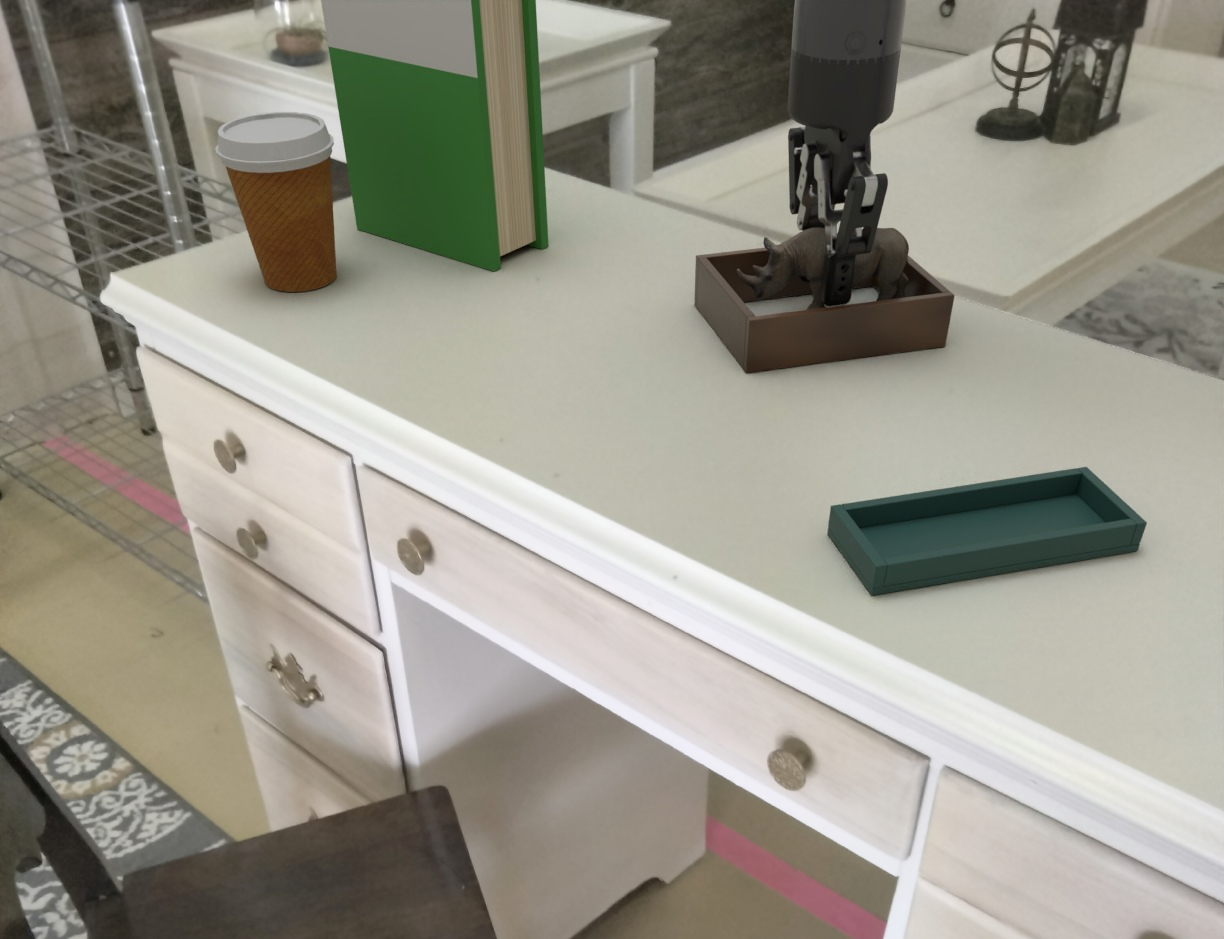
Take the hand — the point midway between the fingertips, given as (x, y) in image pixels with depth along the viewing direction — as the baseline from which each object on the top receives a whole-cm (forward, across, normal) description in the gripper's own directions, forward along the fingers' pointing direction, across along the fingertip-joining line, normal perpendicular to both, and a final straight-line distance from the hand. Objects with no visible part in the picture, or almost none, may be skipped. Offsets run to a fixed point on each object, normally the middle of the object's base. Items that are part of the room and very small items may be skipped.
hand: (823, 290), depth 95 cm
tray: (+3, -33, +2) cm, 33 cm away
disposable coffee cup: (+2, +22, +40) cm, 46 cm away
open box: (+3, 0, 0) cm, 3 cm away
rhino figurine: (+2, 0, 0) cm, 2 cm away
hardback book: (+3, +28, +26) cm, 38 cm away
